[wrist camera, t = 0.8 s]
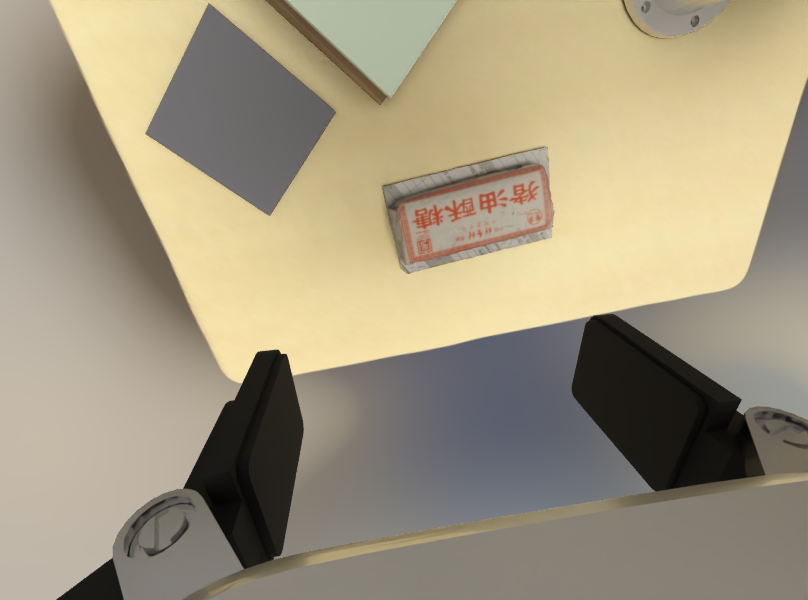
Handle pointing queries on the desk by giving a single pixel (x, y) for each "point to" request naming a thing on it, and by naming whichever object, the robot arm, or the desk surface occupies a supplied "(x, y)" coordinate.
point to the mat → (238, 114)
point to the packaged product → (471, 210)
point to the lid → (377, 33)
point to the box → (327, 49)
